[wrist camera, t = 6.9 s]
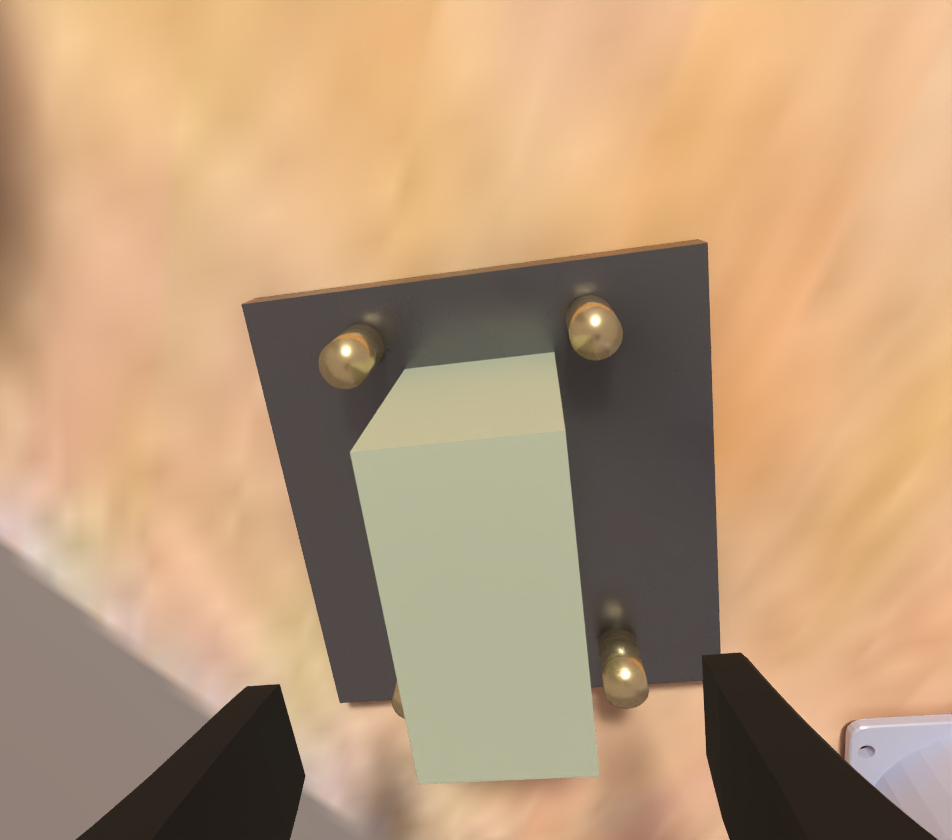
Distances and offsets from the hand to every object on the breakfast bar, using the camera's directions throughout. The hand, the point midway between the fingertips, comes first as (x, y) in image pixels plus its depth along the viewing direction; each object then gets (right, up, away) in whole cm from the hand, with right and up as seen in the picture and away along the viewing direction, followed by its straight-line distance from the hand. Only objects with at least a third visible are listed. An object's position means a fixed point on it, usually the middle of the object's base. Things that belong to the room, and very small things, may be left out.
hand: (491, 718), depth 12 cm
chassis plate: (0, +3, +9) cm, 9 cm away
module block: (0, +3, +8) cm, 8 cm away
